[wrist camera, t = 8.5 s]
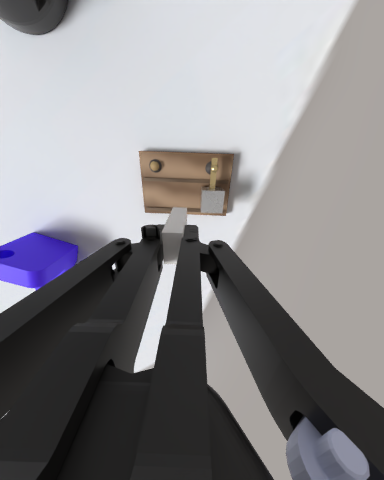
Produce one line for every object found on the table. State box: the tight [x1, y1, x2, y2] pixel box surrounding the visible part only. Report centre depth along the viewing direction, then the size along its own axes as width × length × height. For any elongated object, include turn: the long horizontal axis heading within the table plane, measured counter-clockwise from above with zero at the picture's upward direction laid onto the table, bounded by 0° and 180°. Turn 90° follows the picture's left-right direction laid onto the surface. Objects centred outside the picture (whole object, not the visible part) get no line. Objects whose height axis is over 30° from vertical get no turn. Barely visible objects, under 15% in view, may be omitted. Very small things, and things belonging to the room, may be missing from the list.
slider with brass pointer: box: [200, 158, 225, 213], centre depth 30 cm, size 9×4×5 cm, turn 178°
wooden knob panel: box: [139, 151, 234, 216], centre depth 33 cm, size 12×18×3 cm, turn 88°
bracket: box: [0, 232, 78, 290], centre depth 39 cm, size 18×11×12 cm, turn 160°
